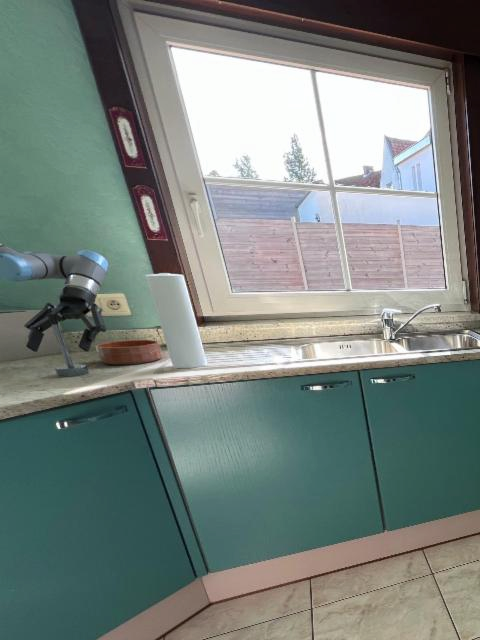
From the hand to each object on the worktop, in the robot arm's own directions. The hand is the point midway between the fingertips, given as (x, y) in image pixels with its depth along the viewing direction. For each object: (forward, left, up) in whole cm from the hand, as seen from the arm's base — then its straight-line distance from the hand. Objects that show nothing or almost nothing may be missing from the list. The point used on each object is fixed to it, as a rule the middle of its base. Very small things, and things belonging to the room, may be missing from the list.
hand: (57, 349), depth 149 cm
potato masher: (+1, +2, -8) cm, 9 cm away
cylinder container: (+30, +2, -8) cm, 31 cm away
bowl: (+13, +19, -8) cm, 24 cm away
